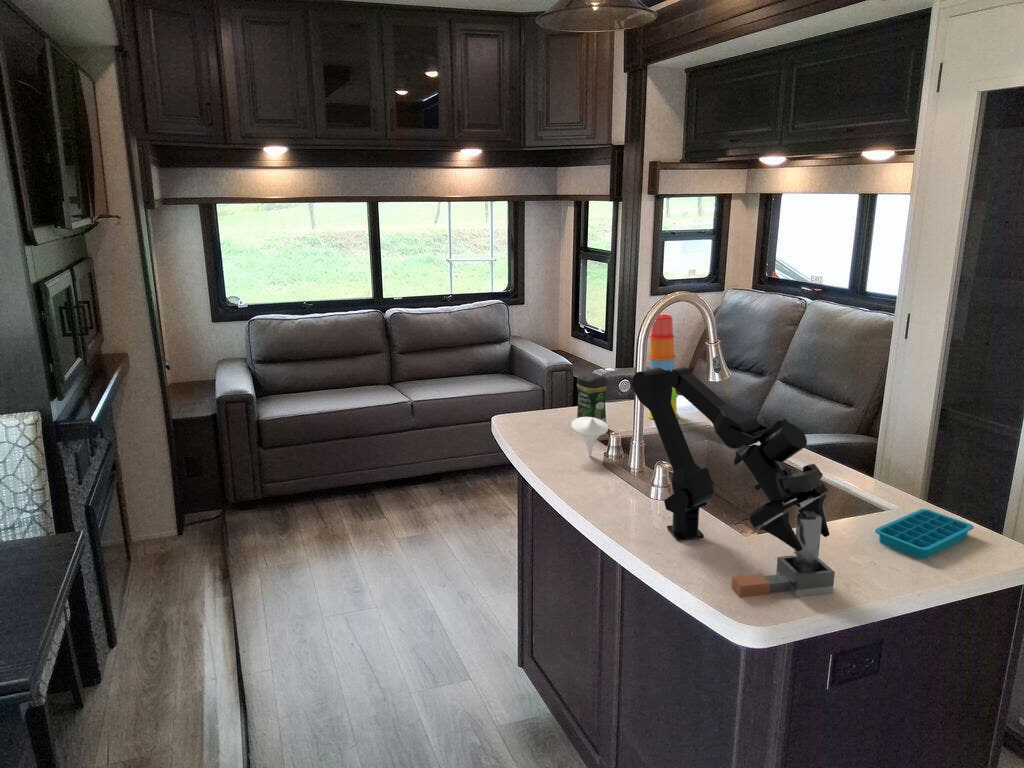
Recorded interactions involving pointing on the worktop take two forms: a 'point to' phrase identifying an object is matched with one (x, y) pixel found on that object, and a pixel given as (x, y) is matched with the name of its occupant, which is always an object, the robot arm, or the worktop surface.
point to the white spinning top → (589, 430)
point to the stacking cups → (663, 350)
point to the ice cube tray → (923, 533)
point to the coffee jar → (591, 396)
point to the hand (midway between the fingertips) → (814, 543)
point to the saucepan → (786, 581)
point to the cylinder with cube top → (807, 542)
